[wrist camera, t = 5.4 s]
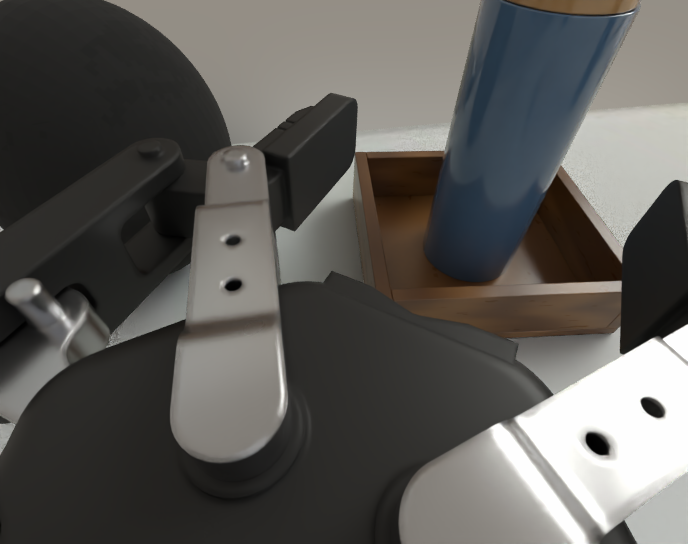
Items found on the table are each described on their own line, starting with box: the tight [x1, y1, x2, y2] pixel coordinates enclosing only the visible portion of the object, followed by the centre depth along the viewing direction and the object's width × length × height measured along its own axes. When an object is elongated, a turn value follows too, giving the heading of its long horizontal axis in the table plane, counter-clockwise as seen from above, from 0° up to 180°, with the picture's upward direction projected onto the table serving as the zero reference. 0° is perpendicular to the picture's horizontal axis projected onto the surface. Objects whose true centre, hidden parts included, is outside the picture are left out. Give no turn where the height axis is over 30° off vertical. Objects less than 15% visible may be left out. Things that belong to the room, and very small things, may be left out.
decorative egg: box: [0, 0, 231, 274], centre depth 21 cm, size 12×12×15 cm
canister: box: [423, 0, 641, 282], centre depth 21 cm, size 6×6×16 cm
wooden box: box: [353, 151, 623, 338], centre depth 26 cm, size 15×14×4 cm
